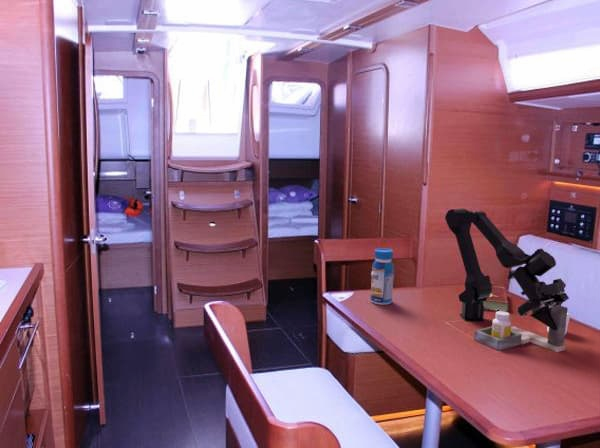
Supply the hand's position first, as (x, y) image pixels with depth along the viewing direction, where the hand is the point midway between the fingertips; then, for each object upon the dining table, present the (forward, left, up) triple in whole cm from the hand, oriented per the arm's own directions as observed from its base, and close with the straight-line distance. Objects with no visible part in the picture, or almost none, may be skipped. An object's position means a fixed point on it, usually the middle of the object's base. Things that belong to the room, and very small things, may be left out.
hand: (559, 328), depth 163 cm
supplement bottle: (-16, +5, -7) cm, 18 cm away
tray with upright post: (-10, +4, -6) cm, 13 cm away
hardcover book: (-1, +47, -7) cm, 47 cm away
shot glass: (+8, +15, -7) cm, 18 cm away
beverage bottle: (-44, +46, -7) cm, 64 cm away
